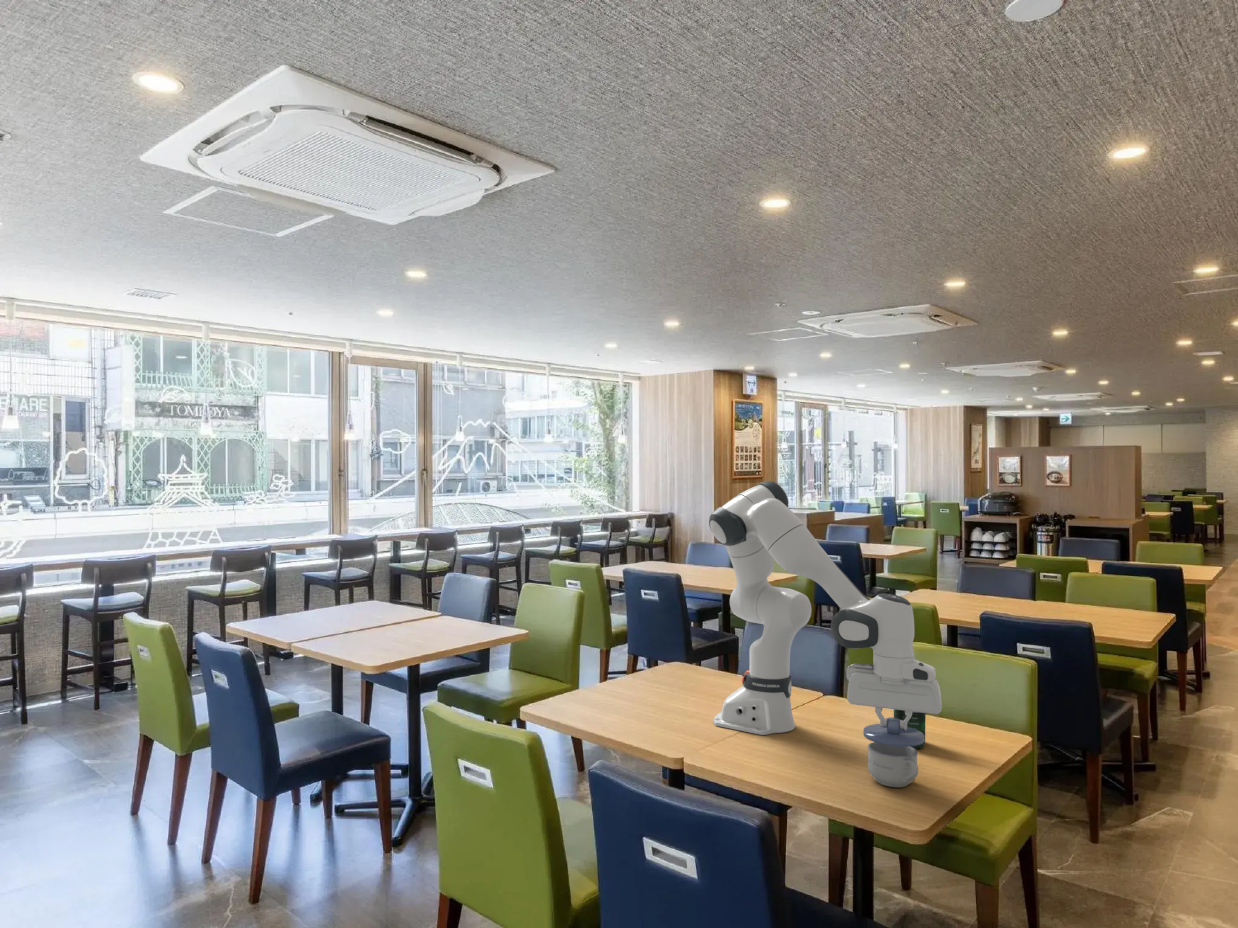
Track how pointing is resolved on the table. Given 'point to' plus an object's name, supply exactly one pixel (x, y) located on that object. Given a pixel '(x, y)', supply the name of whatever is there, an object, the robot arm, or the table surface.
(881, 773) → the teacup
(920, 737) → the lid
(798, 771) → the table surface
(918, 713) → the coffee jar
